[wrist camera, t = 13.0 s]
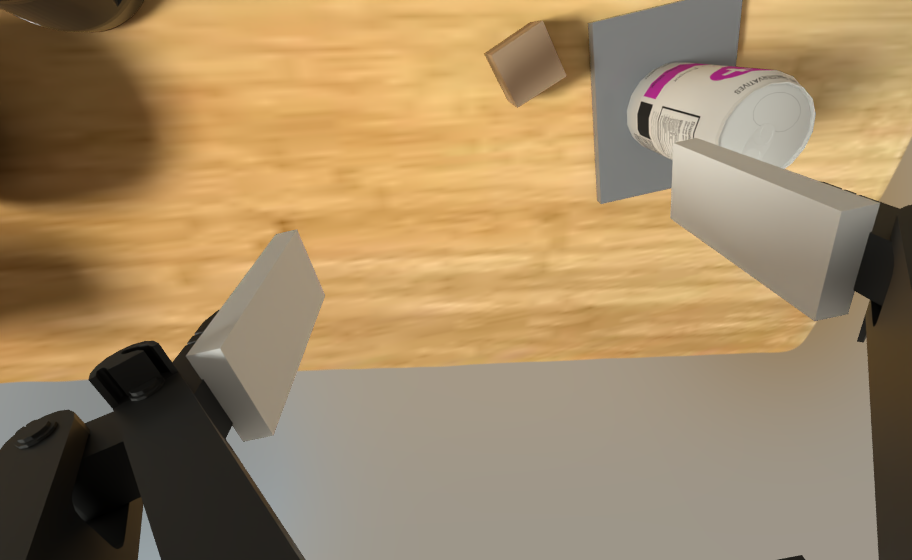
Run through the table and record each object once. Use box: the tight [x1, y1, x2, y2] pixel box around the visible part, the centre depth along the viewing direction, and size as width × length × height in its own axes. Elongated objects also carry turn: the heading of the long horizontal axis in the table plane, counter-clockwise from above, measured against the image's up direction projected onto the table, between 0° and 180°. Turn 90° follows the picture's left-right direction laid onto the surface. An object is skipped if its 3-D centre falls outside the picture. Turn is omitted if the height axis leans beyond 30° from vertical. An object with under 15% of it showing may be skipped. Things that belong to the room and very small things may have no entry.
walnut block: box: [484, 21, 566, 108], centre depth 40 cm, size 5×5×5 cm
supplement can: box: [627, 62, 816, 169], centre depth 38 cm, size 8×8×15 cm
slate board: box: [588, 0, 742, 204], centre depth 45 cm, size 18×14×1 cm
